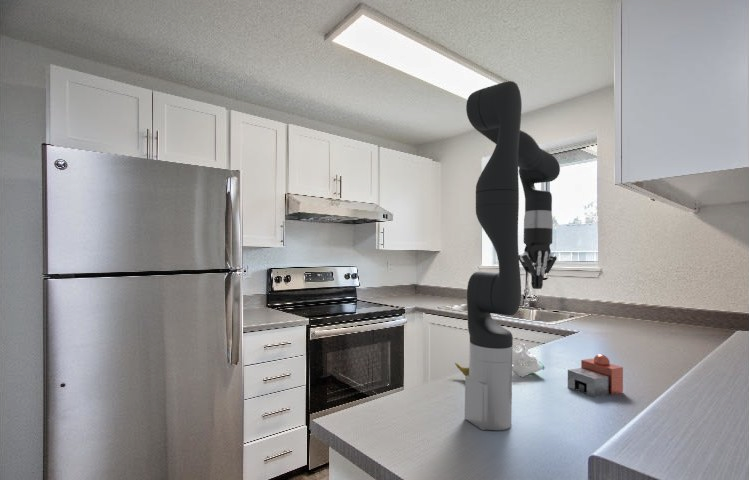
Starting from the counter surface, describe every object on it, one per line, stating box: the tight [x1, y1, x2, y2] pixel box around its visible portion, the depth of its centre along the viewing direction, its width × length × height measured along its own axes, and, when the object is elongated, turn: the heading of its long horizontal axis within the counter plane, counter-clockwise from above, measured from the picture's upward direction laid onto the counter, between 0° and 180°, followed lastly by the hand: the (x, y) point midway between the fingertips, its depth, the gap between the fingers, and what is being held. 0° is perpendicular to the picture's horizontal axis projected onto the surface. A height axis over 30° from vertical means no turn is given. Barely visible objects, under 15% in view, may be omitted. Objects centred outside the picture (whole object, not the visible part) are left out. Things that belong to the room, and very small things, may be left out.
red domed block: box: [578, 354, 624, 396], centre depth 104 cm, size 11×9×10 cm
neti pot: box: [454, 362, 469, 377], centre depth 107 cm, size 4×15×6 cm, turn 44°
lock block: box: [567, 367, 610, 399], centre depth 103 cm, size 6×8×5 cm
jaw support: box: [512, 342, 545, 378], centre depth 117 cm, size 12×9×10 cm
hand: (537, 288), depth 104 cm, fingers closed
